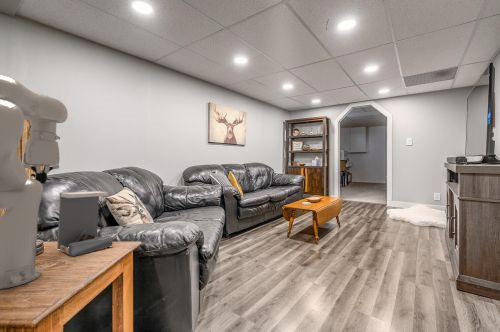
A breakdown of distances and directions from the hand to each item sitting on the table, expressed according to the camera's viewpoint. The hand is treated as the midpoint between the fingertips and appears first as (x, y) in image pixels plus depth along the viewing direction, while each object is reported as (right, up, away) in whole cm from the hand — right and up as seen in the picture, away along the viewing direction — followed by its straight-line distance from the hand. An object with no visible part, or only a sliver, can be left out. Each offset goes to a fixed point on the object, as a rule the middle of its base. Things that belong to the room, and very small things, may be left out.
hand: (40, 183), depth 89 cm
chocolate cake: (+10, -30, +10) cm, 33 cm away
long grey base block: (+11, -29, +10) cm, 33 cm away
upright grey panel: (+7, -30, +12) cm, 33 cm away
